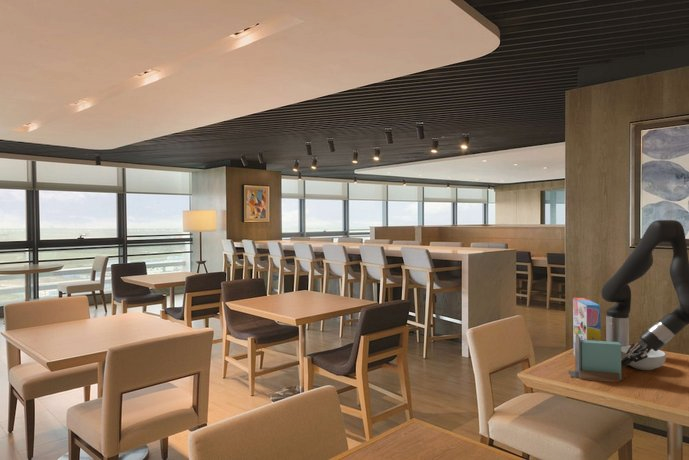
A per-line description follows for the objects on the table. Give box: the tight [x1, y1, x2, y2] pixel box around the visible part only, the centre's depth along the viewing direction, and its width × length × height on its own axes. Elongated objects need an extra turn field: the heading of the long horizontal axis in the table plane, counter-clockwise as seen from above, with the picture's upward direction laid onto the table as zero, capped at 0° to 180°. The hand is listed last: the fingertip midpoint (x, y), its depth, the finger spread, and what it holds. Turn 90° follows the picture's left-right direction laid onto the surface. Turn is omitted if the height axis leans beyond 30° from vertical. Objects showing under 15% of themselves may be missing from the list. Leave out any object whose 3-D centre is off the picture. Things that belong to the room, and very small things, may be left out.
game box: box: [572, 297, 602, 357], centre depth 204 cm, size 21×6×27 cm, turn 168°
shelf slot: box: [574, 343, 621, 383], centre depth 185 cm, size 10×14×12 cm
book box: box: [581, 340, 622, 381], centre depth 184 cm, size 4×14×14 cm, turn 72°
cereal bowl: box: [621, 345, 667, 371], centre depth 196 cm, size 17×17×7 cm
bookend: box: [567, 334, 581, 379], centre depth 187 cm, size 7×4×16 cm, turn 163°
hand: (621, 365), depth 182 cm, fingers closed
